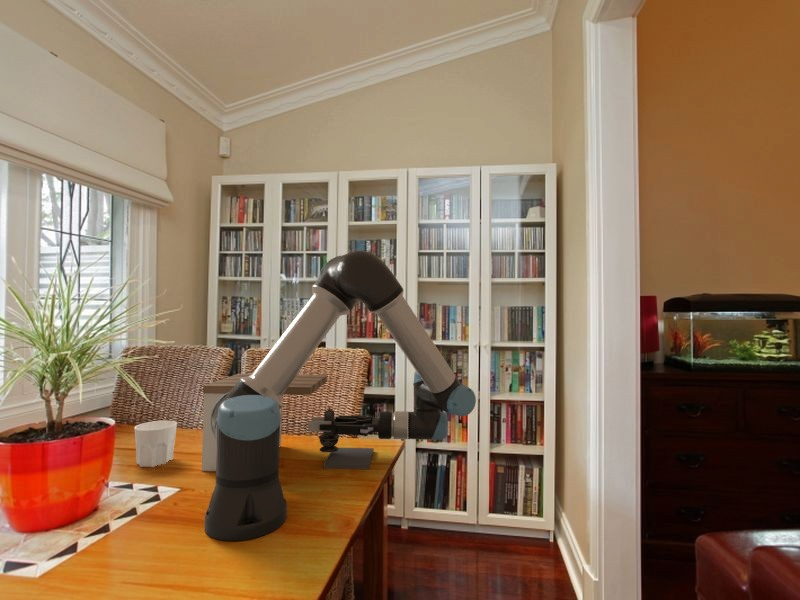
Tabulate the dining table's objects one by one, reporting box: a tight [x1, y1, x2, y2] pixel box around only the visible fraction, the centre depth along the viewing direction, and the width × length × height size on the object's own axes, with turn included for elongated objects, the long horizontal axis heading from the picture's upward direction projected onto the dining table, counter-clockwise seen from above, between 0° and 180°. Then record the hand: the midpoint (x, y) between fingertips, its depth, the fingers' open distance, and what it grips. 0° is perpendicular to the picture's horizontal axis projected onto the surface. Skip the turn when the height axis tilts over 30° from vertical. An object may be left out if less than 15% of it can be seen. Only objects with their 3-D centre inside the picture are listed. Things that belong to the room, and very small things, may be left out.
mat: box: [323, 447, 375, 470], centre depth 116 cm, size 14×12×1 cm
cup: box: [134, 420, 178, 468], centre depth 112 cm, size 10×10×10 cm
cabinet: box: [201, 373, 328, 472], centre depth 117 cm, size 22×28×22 cm
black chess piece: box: [318, 406, 340, 453], centre depth 116 cm, size 6×6×12 cm
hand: (310, 424), depth 117 cm, fingers closed on black chess piece, 4 cm apart
